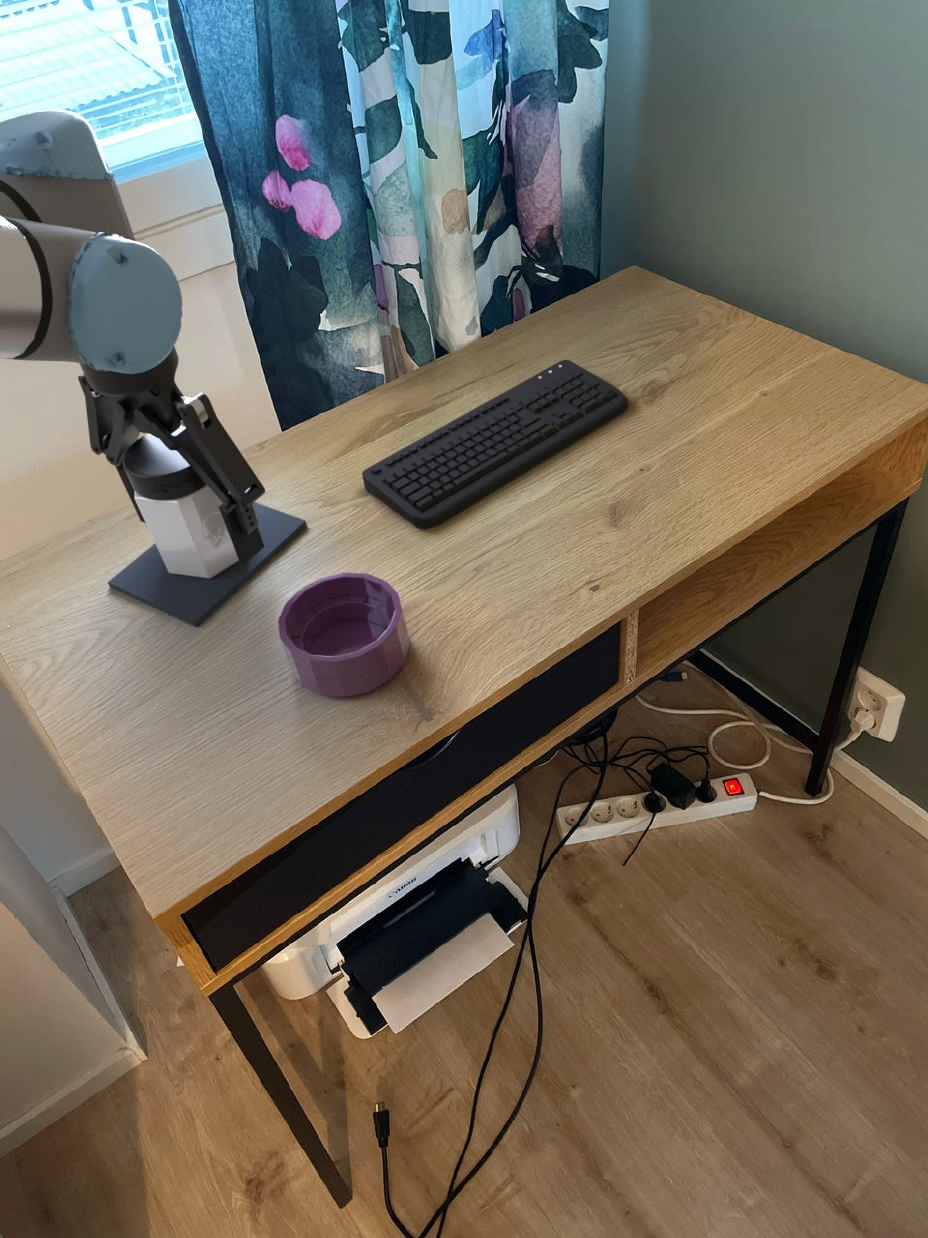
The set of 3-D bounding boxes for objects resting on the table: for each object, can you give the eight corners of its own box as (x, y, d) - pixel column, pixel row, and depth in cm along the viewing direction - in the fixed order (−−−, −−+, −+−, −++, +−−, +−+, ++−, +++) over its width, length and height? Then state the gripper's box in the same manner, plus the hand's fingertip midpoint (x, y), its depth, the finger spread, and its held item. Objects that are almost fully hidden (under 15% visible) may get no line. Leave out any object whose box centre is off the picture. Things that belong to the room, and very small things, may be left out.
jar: (192, 593, 84) (146, 492, 76) (148, 556, 89) (101, 456, 80) (269, 544, 88) (234, 442, 80) (223, 511, 93) (186, 411, 84)
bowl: (362, 718, 72) (350, 678, 69) (268, 674, 77) (253, 634, 73) (432, 636, 78) (424, 595, 74) (341, 599, 82) (330, 558, 79)
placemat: (196, 627, 82) (194, 623, 81) (109, 586, 87) (106, 582, 87) (307, 525, 91) (306, 520, 90) (222, 493, 96) (220, 489, 95)
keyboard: (425, 533, 88) (422, 517, 86) (362, 486, 94) (358, 471, 93) (634, 405, 99) (635, 389, 98) (565, 371, 106) (565, 356, 104)
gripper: (263, 338, 68) (323, 547, 83) (55, 285, 79) (142, 479, 94) (194, 387, 64) (270, 598, 79) (-15, 324, 75) (87, 520, 90)
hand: (201, 534), depth 87 cm, fingers open, 13 cm apart
